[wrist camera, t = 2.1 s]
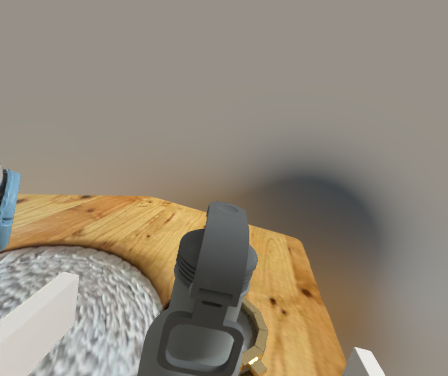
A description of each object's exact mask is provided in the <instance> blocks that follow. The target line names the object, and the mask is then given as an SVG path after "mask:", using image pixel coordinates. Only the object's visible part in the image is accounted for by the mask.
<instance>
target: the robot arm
mask: <svg viewBox="0 0 448 376" xmlns="http://www.w3.org/2000/svg"><path fill="white" fill-rule="evenodd" d="M20 180H21V176H20V174H19V173H18V172H13V171H10V170H7V169H3V170H2V167H1V164H0V251H2V250H4V249H5V248H6V247H7V245H8V243H9V239H10V234H11V229H12V223H13V218H14V213H15V207H16V202H17V196H18V191H19V186H20ZM78 281H79V275H75V274H71V273H67V272H62V273H61V274H60V275H58V276H57V277H56V278H54V279H53V280H52V281H51V282H49V283H48V284H47V285H45V286H44V287H43V288H41V289H40V290H39V291H38V292H36V293H35V294H34V295H32V296H31V297H30V298H28V299H27V300H26V301H25V302H23V303H22V304H21V305H19V306H18V307H17V308H15V309H14V310H13V311H11V312H10V313H9V314H8V315H6V316H5V317H4V318H2V319H1V320H0V376H28V375H29V374H30V373H31V372H32V370H33V369H34V368H35V367H36V366H37V365H38V364H39V363H40V361H41V360H42V359H43V358H44V357H45V356H46V355H47V354H48V352H49V351H50V350H51V349H52V348H53V347H54V346H55V345H56V343H57V342H58V341H59V340H60V339H61V338H62V337H63V336H64V334H65V333H66V332H67V331H68V330H69V329H70V328H71V327H72V325H73V324H74V319H75V310H76V300H77V291H78ZM342 376H385V374H384V373H383V371H382V369H381V368H380V366H379V364H378V362H377V361H376V359H375V357H374V356H373V354H372V352H371V351H368V350H364V349H360V348H356V347H354V349H353V351H352V354H351V356H350V358H349V360H348V363H347V365H346V367H345V370H344V372H343V374H342Z"/></svg>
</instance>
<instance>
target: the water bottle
mask: <svg viewBox="0 0 448 376" xmlns="http://www.w3.org/2000/svg"><path fill="white" fill-rule="evenodd" d="M206 216H207V221H206V226H205V229H198V230H194V231H190V232H188V233H186V234H185V235H184V236H183V237H182V239H181V241H180V245H179V250H178V254H177V259H176V262H177V263H176V265H175V268H174V274H175V281H174V286H173V291H172V295H171V300H170V304H169V308H168V309H167V310H165V311H164V312H162V313H161V314H160V315H159V316H157V317H156V319H155V320H154V321H153V322H152V324H151V326H150V328H149V330H148V331H147V334H146V337H145V341H144V345H143V349H142V354H141V360H140V365H139V370H138V375H137V376H238V374H239V370H240V366H241V362H242V346H243V342H244V336H243V329H242V327H241V326H240V325H239V324H238V323H236V321H237V317H238V314H239V311H240V308H241V304H242V301H243V298H244V296H245V295H246V294H247V292H248V291H249V288H250V279H251V277H252V273H253V271H254V270H255V268H256V265H257V262H258V258H257V254H256V252H255V250H254V249H253V248H252V247H251V246H250V245H249V227H248V222H247V218H246V211H245V210H243V209H242V208H240V207H238V206H236V205H233V204H230V203H226V202H211V203H210V204H209V207H208V211H207V215H206Z"/></svg>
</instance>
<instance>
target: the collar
mask: <svg viewBox="0 0 448 376" xmlns="http://www.w3.org/2000/svg"><path fill="white" fill-rule="evenodd" d="M236 323H238V324H239V325H240V326H241V327H242V329H243V336H244V342H243V346H242V362H241V366H240V370H239V374H238V376H242V375H245V374H247V373H248V372H250V371H251V372H252V373H253V375H254V376H262V375H263V374H265V373H266V371H267V368H266V367H265V366H264V364H263V363H262V362H261V361H260V360H261V358H262V356H263V353H264V350H265V347H266V340H267V336H268V329H267V327H266V324H265V322H264V320H263V317H262V315H261V312H259V310H258V309H257V308H256V307H255V306H254V305H253V304H252V303H251V302H250V301H248V300H247V299H246V298H245V297H244V298H243V301H242V304H241V308H240V311H239V314H238V317H237V321H236Z"/></svg>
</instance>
